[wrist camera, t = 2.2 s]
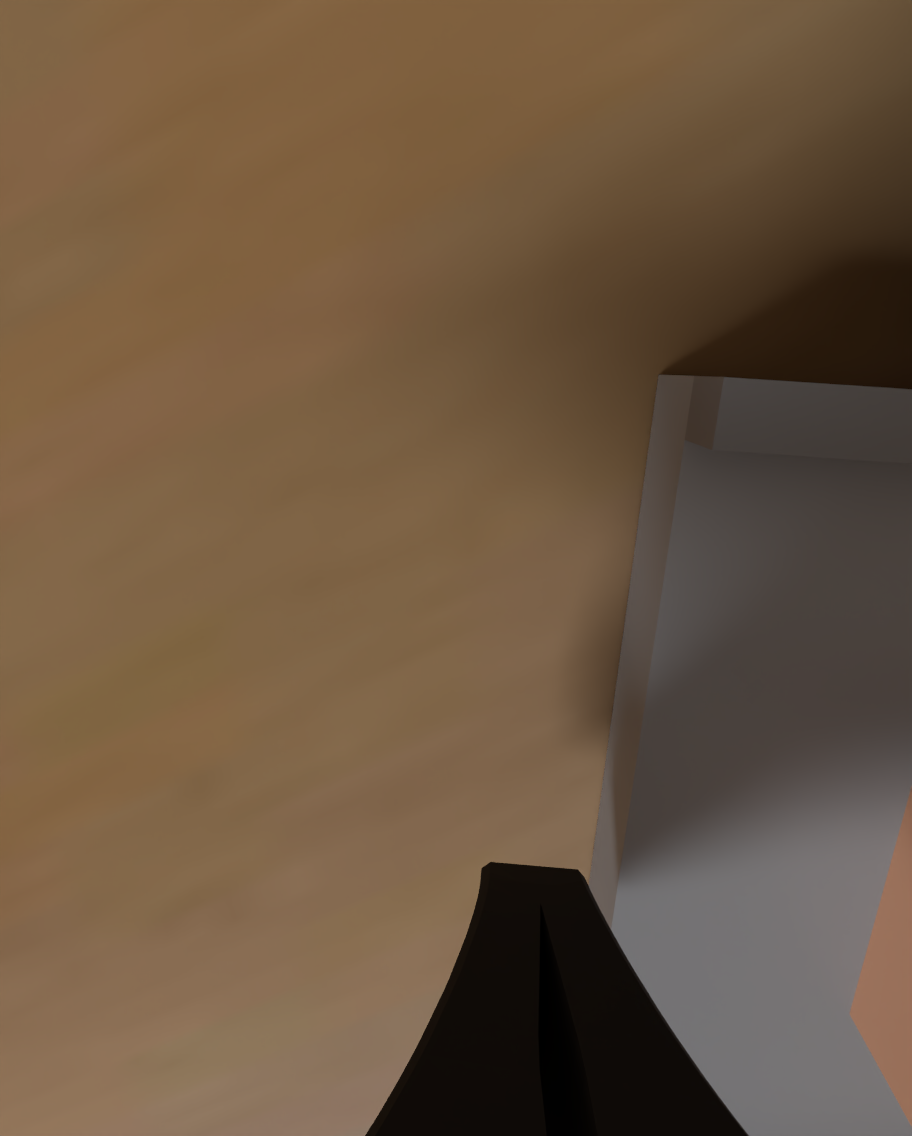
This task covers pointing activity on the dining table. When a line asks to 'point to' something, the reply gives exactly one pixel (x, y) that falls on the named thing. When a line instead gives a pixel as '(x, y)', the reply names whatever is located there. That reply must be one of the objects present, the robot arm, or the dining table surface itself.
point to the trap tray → (764, 737)
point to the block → (891, 975)
